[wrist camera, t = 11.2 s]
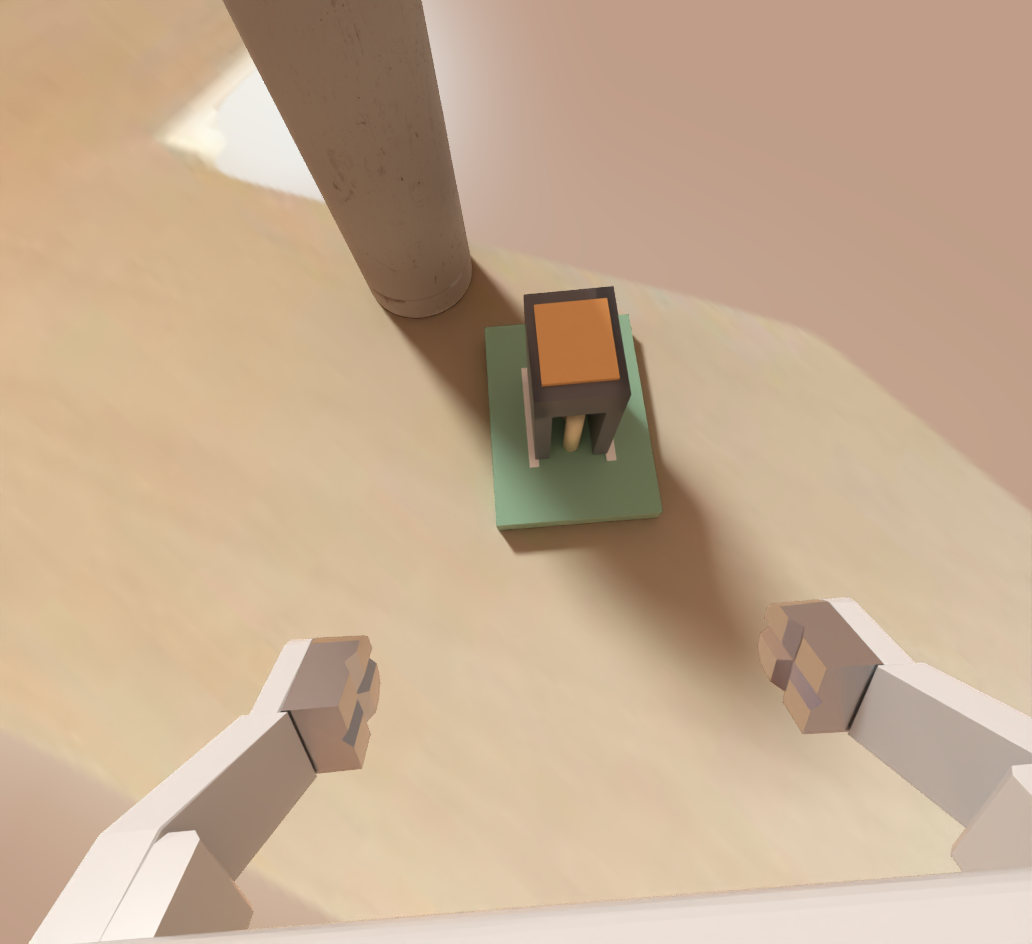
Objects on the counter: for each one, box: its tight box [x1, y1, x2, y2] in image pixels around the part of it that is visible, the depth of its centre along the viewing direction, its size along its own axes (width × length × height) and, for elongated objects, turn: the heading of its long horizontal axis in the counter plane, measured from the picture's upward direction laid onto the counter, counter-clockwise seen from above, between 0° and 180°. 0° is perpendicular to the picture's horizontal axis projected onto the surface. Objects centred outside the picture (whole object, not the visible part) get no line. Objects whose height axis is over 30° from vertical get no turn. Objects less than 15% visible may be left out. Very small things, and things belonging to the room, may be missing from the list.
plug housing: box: [524, 286, 631, 460], centre depth 26 cm, size 6×4×8 cm
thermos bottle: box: [223, 0, 472, 318], centre depth 22 cm, size 8×8×28 cm
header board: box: [484, 314, 663, 530], centre depth 29 cm, size 14×10×6 cm
